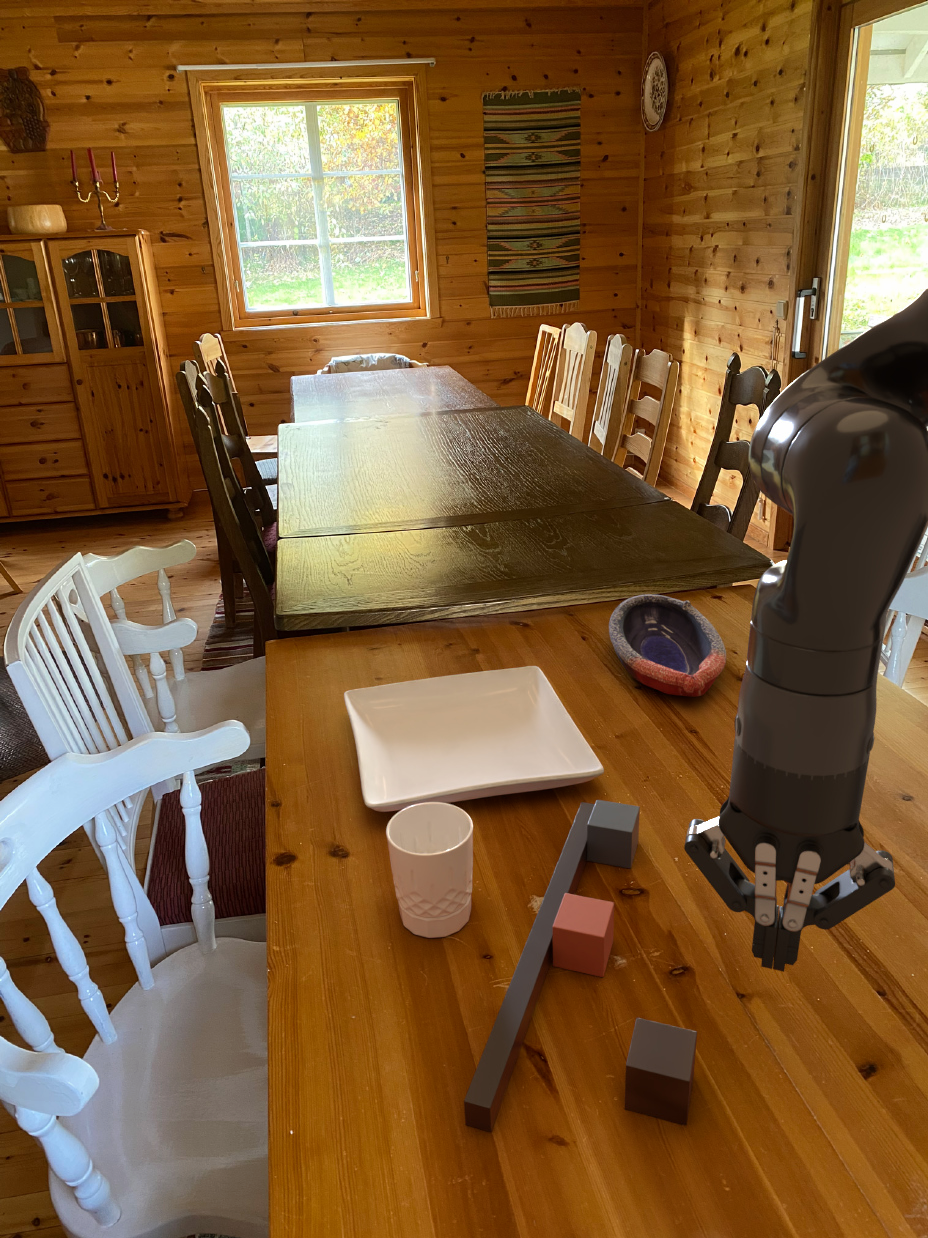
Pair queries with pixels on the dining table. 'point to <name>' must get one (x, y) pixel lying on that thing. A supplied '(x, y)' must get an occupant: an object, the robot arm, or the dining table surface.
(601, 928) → the terracotta block
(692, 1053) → the walnut block
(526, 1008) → the rail
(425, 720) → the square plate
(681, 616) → the dish
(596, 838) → the slate block
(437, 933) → the white cup
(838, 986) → the dining table surface
